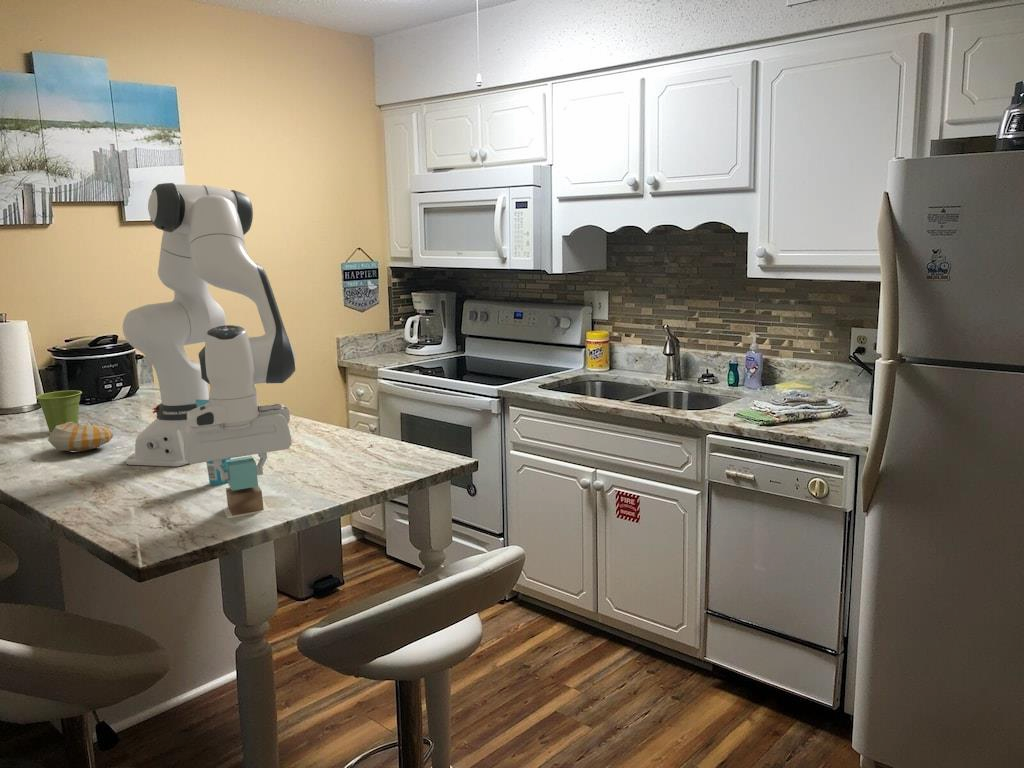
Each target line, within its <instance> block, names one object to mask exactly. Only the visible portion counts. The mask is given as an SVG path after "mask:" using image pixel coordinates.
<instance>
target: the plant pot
mask: <svg viewBox="0 0 1024 768" xmlns="http://www.w3.org/2000/svg"><path fill="white" fill-rule="evenodd" d="M81 394H83V392H82V391H81V390H72V389H71V390H57V391H52V392H46V393H40V394H39V395H35V398H36V399H37V400H38V402H39V403H38V404H39V406H40V407H41V409H42V412H43V415H44V416H43V417H44V418H45V422H46V425H47V429H48V431H49V433H50V432H52V431H53V430H54V428H55V427H56V426H57V425H61V423H62V422H63V423H64V424H65V423H66V422H74V423H77V424H79V415H80V414H79V412H80V409H79V408H80V401H81ZM63 423H62V424H63Z"/></svg>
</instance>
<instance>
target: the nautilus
mask: <svg viewBox="0 0 1024 768" xmlns="http://www.w3.org/2000/svg"><path fill="white" fill-rule="evenodd" d="M62 423H63V422H62ZM62 423H61V425H57V426H56V427H55V428H54V430H53V431H52V432H51V433H50V434H49V436H48V439H47V441H48V442H49V443H50V444H51V446H53V448H54V447H55V448H56V450H58V451H61V452H62V451H65V452H66V451H67V452H69V451H78V452H77V453H80V452H79V451H82V452H84V451H89V450H92V449H95V448H96V449H98V448H99V447H101V446H103V445H105V444H107V443H109V442H110V441H111V440H112V438H113V437H114V433H113V430H112V429H110V428H108V427H105V426H102V425H99V424H96V423H93V422H91V423H78V424H77V423H74V422H66V423H65V424H64V423H63V424H62ZM97 447H98V448H97Z"/></svg>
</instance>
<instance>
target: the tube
mask: <svg viewBox="0 0 1024 768" xmlns="http://www.w3.org/2000/svg"><path fill="white" fill-rule="evenodd" d="M208 402H210V400H196V406H197V407H199V406H202V405H204V404H206V403H208ZM229 459H232V458H228V459H222V465H220V467H221V468H222V469H223V470H227V468H226V460H229ZM205 464H206V468H207V476H208V482H209V485H210V486H213V487H214V486H221V485H228V481H222V480H221V474H220V472H219V471H218V469H217V468H216V467H215V466H214V464H213V461H209V462H205Z"/></svg>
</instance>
